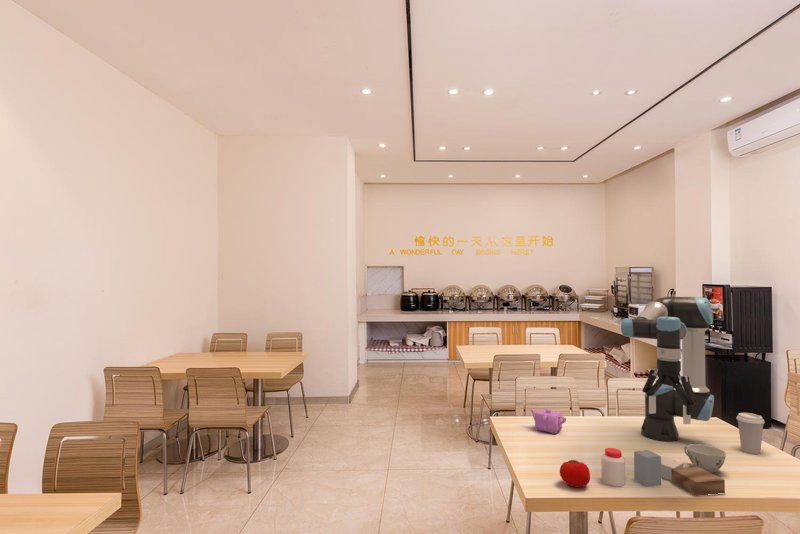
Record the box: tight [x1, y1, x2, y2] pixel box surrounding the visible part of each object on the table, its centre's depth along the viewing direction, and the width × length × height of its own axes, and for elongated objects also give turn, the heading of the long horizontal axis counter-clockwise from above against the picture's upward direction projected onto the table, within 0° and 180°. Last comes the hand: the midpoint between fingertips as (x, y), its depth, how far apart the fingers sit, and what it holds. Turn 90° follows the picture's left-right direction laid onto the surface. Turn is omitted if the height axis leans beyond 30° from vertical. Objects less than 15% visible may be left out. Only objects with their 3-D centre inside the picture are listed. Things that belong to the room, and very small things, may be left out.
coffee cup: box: [736, 412, 766, 455], centre depth 193 cm, size 10×10×15 cm
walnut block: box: [671, 466, 726, 497], centre depth 159 cm, size 11×11×5 cm
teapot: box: [528, 408, 567, 435], centre depth 219 cm, size 18×14×10 cm
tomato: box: [559, 459, 591, 488], centre depth 161 cm, size 9×10×8 cm
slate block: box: [633, 449, 662, 488], centre depth 164 cm, size 6×6×10 cm
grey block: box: [660, 455, 685, 482], centre depth 170 cm, size 8×8×5 cm
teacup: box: [683, 443, 727, 474], centre depth 175 cm, size 15×12×8 cm
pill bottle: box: [601, 447, 626, 487], centre depth 164 cm, size 8×8×11 cm
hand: (669, 418), depth 166 cm, fingers open, 13 cm apart
